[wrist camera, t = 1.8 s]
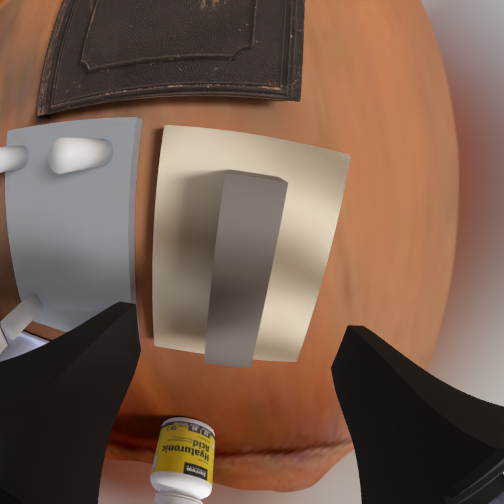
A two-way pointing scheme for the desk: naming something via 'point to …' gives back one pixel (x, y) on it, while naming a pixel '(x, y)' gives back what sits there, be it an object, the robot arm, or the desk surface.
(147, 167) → the desk surface
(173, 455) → the supplement bottle
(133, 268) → the peg stand
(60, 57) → the hardcover book
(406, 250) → the desk surface
